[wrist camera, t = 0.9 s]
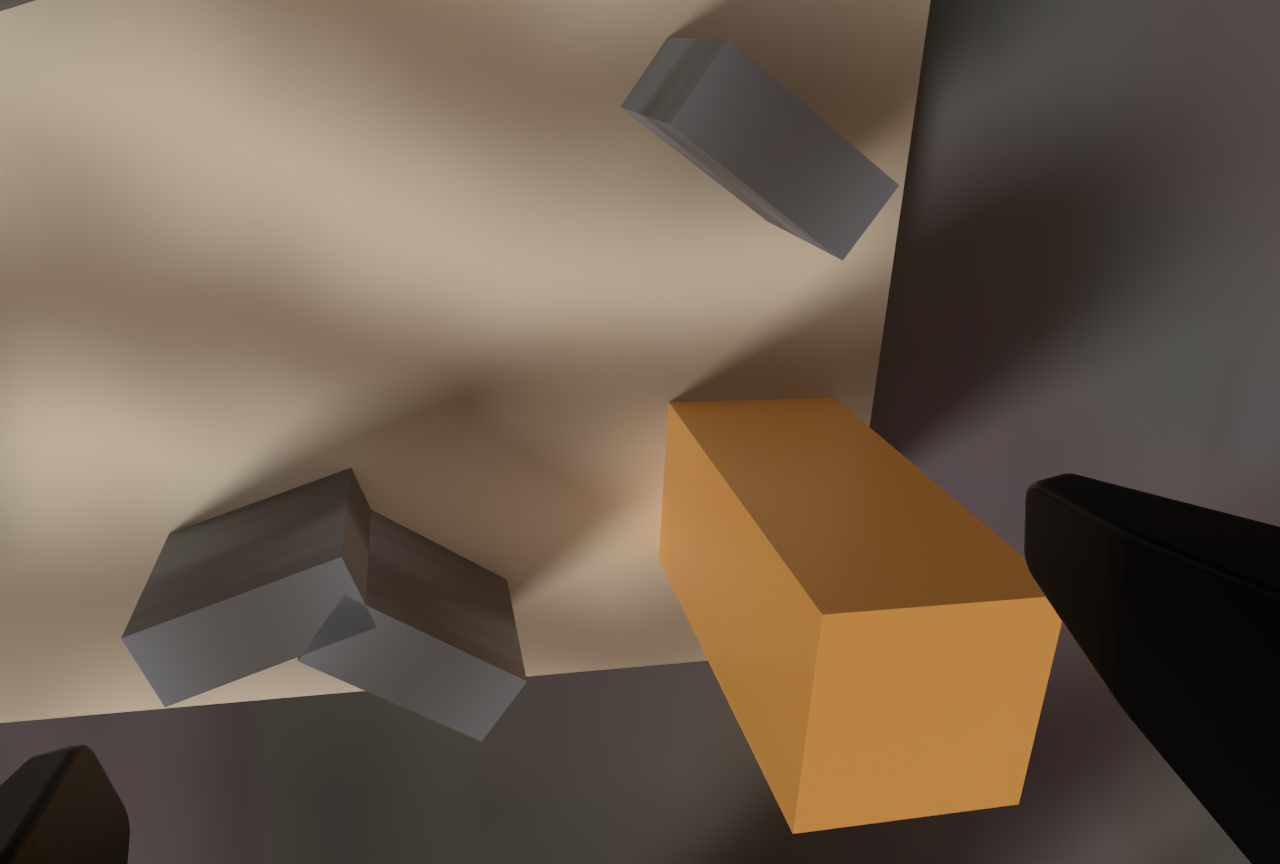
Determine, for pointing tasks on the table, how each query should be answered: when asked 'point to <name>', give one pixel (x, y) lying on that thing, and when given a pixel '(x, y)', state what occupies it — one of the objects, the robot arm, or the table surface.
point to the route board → (407, 325)
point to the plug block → (852, 614)
